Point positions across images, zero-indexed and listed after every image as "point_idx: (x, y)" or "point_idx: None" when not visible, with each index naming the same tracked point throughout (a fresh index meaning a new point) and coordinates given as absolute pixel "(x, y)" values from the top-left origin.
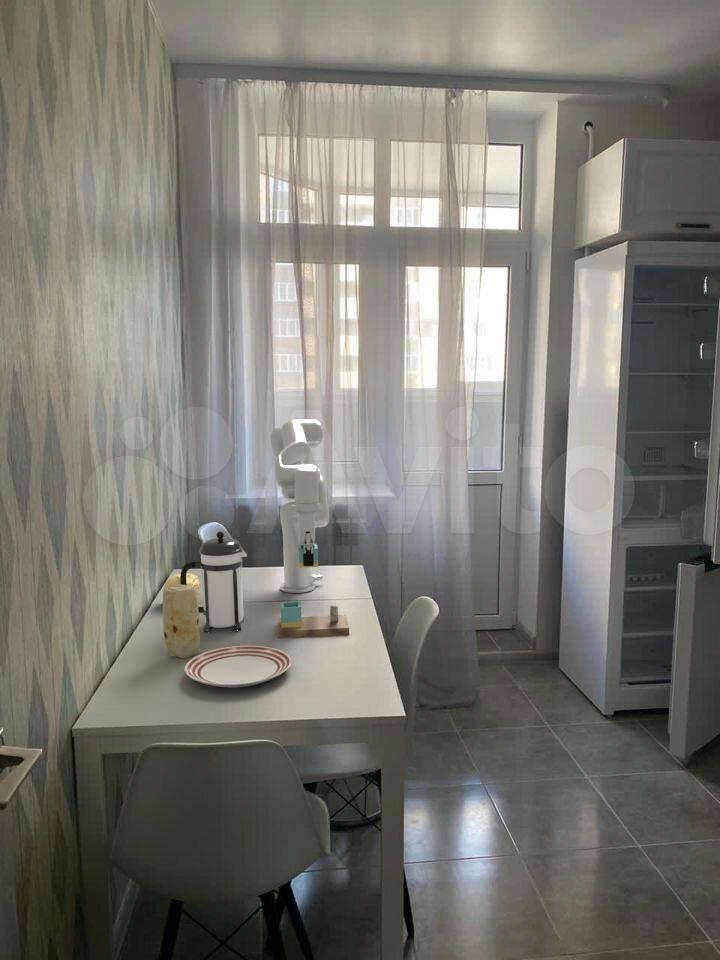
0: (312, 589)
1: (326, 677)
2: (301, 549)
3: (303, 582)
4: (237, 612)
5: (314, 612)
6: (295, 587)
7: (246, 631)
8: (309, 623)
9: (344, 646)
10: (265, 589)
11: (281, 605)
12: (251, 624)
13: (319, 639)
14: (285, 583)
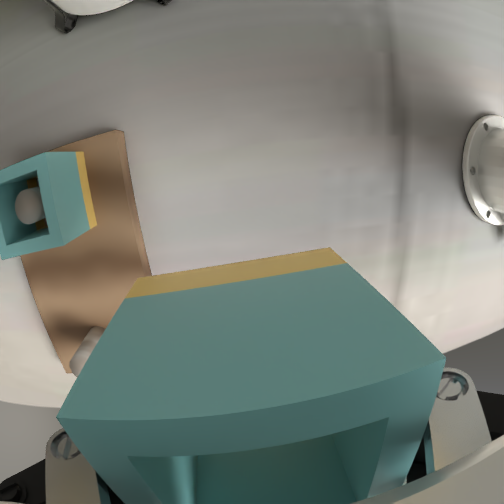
0: (479, 217)
1: None
2: (82, 448)
3: (494, 193)
4: (47, 1)
5: (262, 247)
6: (481, 163)
7: (65, 49)
8: (70, 260)
9: (7, 347)
10: (487, 72)
11: (9, 168)
12: (127, 39)
13: (22, 289)
14: (499, 131)
